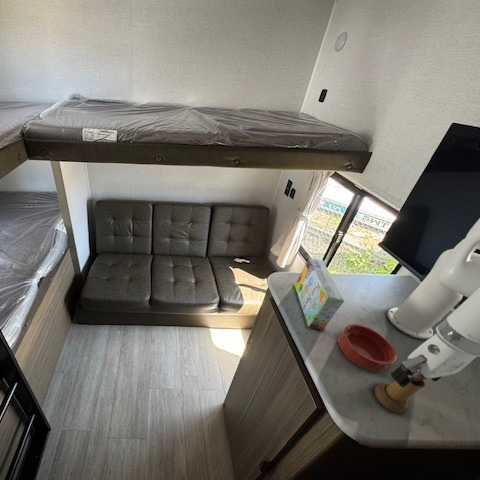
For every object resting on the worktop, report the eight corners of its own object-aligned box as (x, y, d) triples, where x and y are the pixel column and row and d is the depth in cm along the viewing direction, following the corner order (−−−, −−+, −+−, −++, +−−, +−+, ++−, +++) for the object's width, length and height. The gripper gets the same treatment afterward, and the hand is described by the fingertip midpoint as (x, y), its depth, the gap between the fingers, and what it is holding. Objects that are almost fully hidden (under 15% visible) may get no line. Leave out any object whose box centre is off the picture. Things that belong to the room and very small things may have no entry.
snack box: (324, 331, 86) (345, 301, 77) (307, 327, 87) (326, 297, 78) (307, 287, 103) (323, 258, 95) (293, 284, 104) (307, 256, 95)
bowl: (361, 331, 87) (369, 322, 84) (397, 369, 76) (407, 360, 73) (327, 336, 84) (334, 326, 82) (360, 376, 74) (369, 367, 71)
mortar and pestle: (410, 412, 66) (460, 377, 56) (387, 413, 66) (434, 379, 55) (389, 385, 72) (431, 350, 61) (368, 387, 71) (407, 351, 61)
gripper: (452, 358, 48) (398, 400, 58) (517, 347, 51) (456, 388, 61) (413, 325, 54) (371, 368, 64) (473, 317, 57) (424, 359, 67)
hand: (412, 378), depth 62 cm, fingers open, 9 cm apart
